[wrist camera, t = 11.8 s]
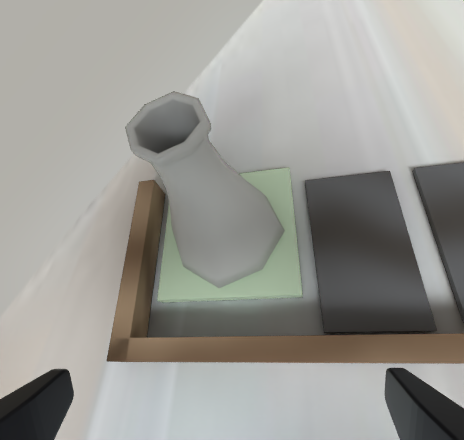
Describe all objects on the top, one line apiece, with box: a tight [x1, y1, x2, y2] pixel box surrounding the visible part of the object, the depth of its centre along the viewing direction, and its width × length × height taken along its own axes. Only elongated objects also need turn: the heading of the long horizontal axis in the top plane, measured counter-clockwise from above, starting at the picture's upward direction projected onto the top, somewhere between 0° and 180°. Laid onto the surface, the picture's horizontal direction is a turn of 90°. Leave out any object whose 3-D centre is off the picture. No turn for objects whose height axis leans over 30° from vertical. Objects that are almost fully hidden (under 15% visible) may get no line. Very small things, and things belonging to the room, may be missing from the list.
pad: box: [157, 167, 302, 303], centre depth 20 cm, size 9×9×1 cm
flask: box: [125, 92, 285, 288], centre depth 15 cm, size 7×7×10 cm
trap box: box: [107, 162, 464, 363], centre depth 16 cm, size 12×38×2 cm, turn 89°
